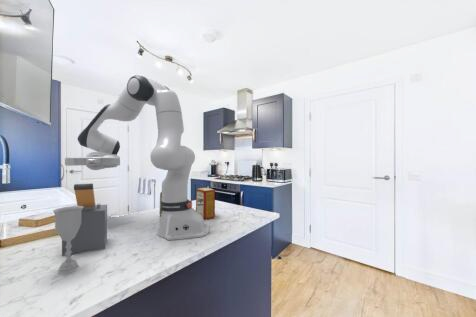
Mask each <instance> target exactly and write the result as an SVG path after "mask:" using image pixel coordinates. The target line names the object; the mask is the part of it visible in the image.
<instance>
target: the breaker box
mask: <svg viewBox="0 0 476 317" xmlns="http://www.w3.org/2000/svg"><path fill="white" fill-rule="evenodd" d="M107 240H108V204H101V203H97V204H96V207H95V208H87V209H82V211H81V225H80V228H79V230H78V232H77V234H76V236H75V238H74V239H72V240H71V242H70V243H71V245H72V247H71V249H70V250H71V251H72V253H71V255H76V254H77V255H78V254H81V253H88V252H94V251H99V250H104V249H106V245H107V242H108V241H107ZM66 244H67V242H66V241H63V240H62V239H61V257H66V255H65V253H66V251H67V250H66V248H65V247H66Z"/></svg>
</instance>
